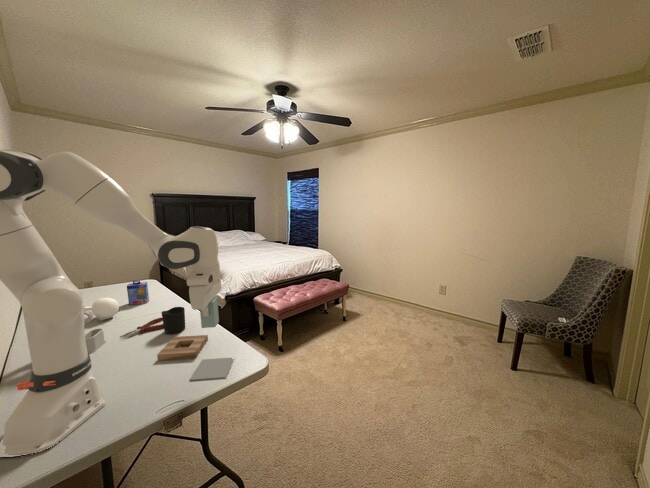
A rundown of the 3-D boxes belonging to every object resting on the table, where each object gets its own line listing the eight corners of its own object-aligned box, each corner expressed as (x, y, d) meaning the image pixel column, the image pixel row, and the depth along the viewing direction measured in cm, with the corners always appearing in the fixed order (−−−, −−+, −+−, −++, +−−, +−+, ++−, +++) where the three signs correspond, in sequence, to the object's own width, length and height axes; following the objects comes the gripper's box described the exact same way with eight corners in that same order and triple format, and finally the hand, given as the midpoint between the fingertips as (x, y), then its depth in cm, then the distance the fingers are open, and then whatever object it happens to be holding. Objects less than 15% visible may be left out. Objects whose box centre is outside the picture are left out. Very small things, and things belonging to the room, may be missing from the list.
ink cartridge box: (128, 305, 160) (125, 282, 158) (130, 302, 165) (127, 280, 163) (147, 302, 164) (145, 280, 162) (149, 300, 169) (146, 278, 167)
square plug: (215, 327, 91) (213, 302, 90) (201, 328, 91) (199, 302, 89) (219, 321, 96) (217, 297, 94) (206, 322, 95) (204, 298, 94)
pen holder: (165, 328, 129) (163, 308, 128) (187, 324, 132) (185, 305, 131) (161, 336, 120) (159, 315, 119) (184, 333, 123) (182, 312, 122)
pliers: (115, 336, 122) (115, 331, 121) (161, 321, 138) (161, 316, 138) (127, 343, 116) (126, 337, 115) (173, 326, 132) (173, 321, 132)
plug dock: (196, 358, 102) (195, 352, 102) (157, 360, 101) (157, 354, 101) (208, 340, 116) (207, 334, 116) (174, 342, 115) (174, 336, 115)
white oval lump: (120, 321, 142) (109, 317, 150) (125, 298, 144) (113, 296, 152) (91, 322, 131) (80, 318, 139) (96, 298, 133) (85, 295, 141)
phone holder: (108, 341, 117) (102, 302, 114) (94, 353, 107) (88, 310, 105) (60, 346, 113) (54, 306, 110) (42, 359, 103) (34, 315, 101)
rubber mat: (226, 378, 90) (226, 376, 90) (189, 380, 89) (189, 379, 89) (234, 358, 102) (234, 357, 102) (202, 360, 101) (202, 359, 101)
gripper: (206, 267, 101) (209, 302, 102) (184, 282, 80) (188, 325, 82) (224, 266, 101) (226, 301, 103) (205, 281, 81) (209, 324, 83)
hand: (209, 312), depth 93 cm, fingers closed on square plug, 4 cm apart
